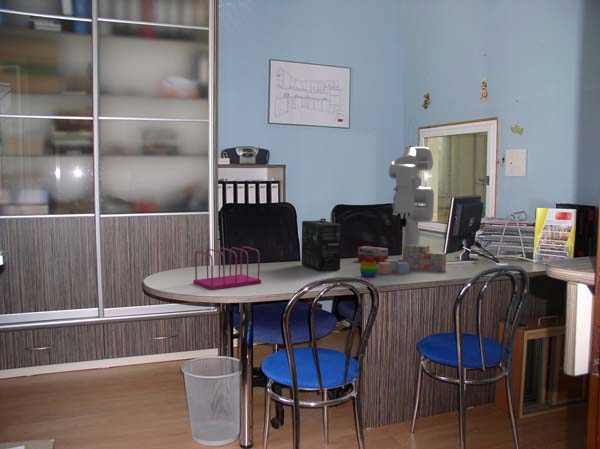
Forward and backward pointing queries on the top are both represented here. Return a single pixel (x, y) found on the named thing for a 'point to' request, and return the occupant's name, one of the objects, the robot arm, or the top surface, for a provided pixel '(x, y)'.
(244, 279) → the file sorter
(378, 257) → the medicine box
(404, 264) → the slate-blue cube
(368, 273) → the decorative egg
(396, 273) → the charcoal mat
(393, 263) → the sage cube
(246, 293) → the top surface
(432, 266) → the stack of blocks
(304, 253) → the headset box
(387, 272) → the terracotta cube
